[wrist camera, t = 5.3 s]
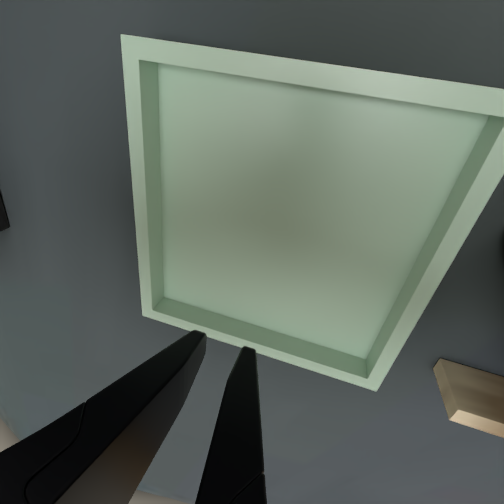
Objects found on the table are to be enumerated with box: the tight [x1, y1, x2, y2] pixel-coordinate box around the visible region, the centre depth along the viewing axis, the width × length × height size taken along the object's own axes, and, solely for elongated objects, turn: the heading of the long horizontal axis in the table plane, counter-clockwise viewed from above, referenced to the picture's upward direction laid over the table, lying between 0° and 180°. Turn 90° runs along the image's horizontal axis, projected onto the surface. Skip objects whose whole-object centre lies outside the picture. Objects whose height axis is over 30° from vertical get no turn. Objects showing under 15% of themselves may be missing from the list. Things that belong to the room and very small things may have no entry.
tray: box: [121, 34, 504, 392], centre depth 16 cm, size 16×16×2 cm
